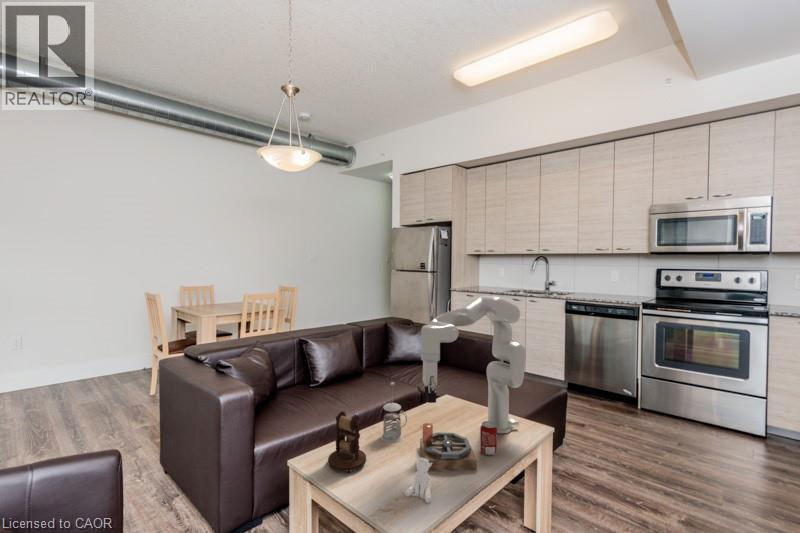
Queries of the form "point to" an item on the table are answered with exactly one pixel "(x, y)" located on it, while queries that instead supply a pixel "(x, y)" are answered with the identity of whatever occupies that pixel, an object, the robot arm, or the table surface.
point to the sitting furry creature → (421, 481)
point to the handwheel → (444, 443)
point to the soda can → (488, 438)
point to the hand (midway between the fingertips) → (430, 397)
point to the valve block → (449, 463)
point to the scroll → (347, 445)
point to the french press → (395, 430)
